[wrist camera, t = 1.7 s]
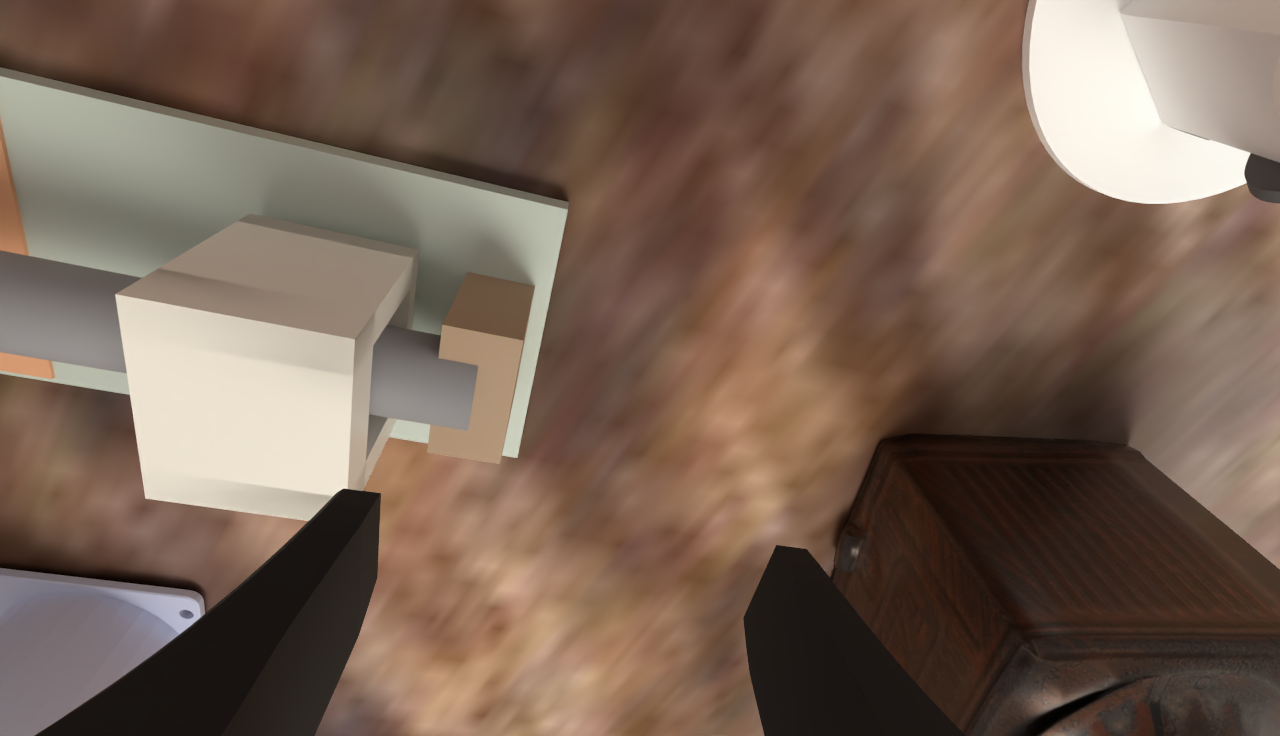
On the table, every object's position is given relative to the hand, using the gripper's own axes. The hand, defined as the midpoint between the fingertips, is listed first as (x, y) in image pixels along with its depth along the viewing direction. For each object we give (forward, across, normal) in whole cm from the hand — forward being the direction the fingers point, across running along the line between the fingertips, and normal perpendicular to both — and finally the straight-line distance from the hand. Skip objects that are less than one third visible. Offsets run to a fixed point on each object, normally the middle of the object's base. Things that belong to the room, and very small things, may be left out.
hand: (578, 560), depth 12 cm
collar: (+9, +7, +1) cm, 12 cm away
